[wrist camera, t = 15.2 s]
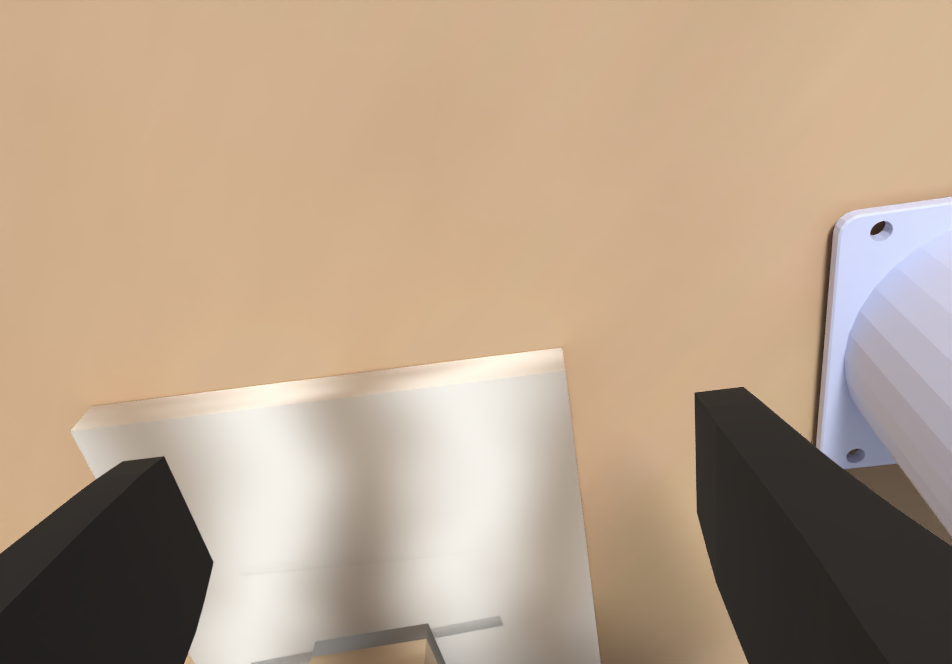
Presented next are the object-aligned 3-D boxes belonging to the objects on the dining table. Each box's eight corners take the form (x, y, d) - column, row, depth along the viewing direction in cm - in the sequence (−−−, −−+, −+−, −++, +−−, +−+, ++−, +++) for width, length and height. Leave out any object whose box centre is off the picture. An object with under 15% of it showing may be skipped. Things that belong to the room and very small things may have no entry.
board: (562, 347, 20) (565, 370, 19) (608, 735, 29) (613, 765, 28) (90, 406, 22) (70, 431, 21) (269, 759, 30) (261, 789, 29)
